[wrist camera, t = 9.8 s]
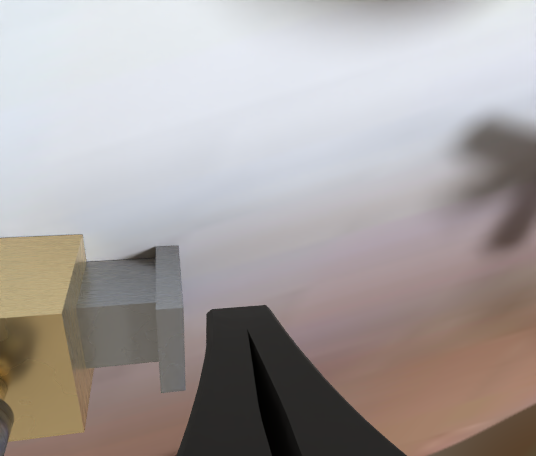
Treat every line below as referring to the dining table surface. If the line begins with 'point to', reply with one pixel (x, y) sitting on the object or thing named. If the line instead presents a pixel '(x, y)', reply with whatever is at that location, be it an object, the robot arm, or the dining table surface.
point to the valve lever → (5, 425)
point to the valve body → (81, 327)
